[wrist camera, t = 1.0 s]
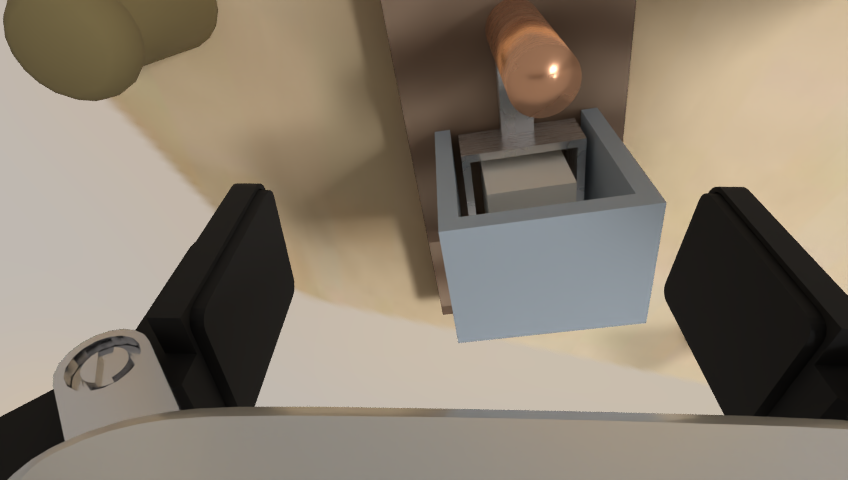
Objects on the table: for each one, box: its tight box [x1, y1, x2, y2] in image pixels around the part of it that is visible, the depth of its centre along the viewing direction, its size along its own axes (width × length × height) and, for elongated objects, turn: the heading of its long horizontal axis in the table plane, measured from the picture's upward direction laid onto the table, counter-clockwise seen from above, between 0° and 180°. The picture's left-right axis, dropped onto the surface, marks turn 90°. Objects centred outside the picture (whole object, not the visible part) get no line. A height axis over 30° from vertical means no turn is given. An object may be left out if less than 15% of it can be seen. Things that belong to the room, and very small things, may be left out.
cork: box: [3, 0, 218, 101], centre depth 25 cm, size 6×6×11 cm
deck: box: [381, 0, 636, 315], centre depth 32 cm, size 35×14×2 cm, turn 9°
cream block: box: [480, 150, 577, 214], centre depth 31 cm, size 5×5×6 cm
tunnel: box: [435, 108, 666, 343], centre depth 29 cm, size 8×10×11 cm
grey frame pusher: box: [458, 0, 587, 216], centre depth 27 cm, size 15×7×10 cm, turn 9°
